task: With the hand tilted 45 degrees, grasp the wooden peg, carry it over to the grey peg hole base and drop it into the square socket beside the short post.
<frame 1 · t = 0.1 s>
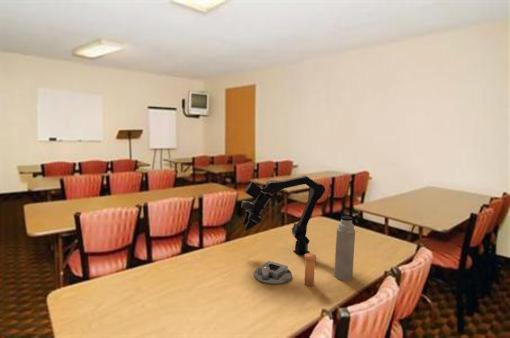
hand: (244, 227, 167), 15 cm above the table, tool tilted 35°, fingers open, 9 cm apart
thermos bottle: (343, 276, 146), on the table
wooden peg: (309, 284, 139), on the table
grey peg hole base: (272, 275, 146), on the table
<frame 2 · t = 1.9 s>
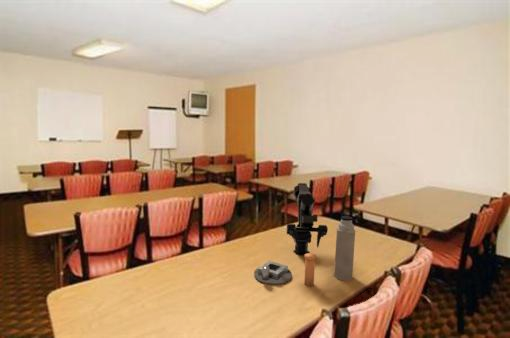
hand: (307, 246, 145), 13 cm above the table, tool tilted 45°, fingers open, 9 cm apart
nothing on the table moved.
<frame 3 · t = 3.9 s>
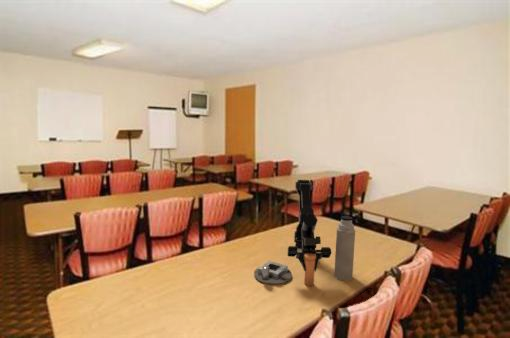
hand: (310, 271, 136), 7 cm above the table, tool tilted 45°, fingers closed on wooden peg, 4 cm apart
wooden peg: (309, 284, 139), on the table, touching gripper
everything else where it was.
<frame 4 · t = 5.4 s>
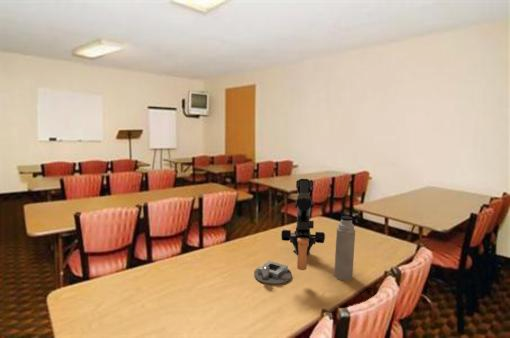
hand: (302, 254, 136), 13 cm above the table, tool tilted 45°, fingers closed on wooden peg, 4 cm apart
wooden peg: (301, 268, 139), point 7 cm above the table, touching gripper
everything else where it was.
when the fingers open (9 cm above the table, at t = 7.2 s): wooden peg drops 2 cm, resting on grey peg hole base.
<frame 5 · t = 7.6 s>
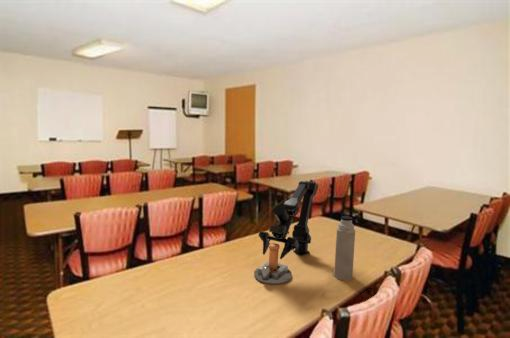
hand: (271, 256, 144), 10 cm above the table, tool tilted 45°, fingers open, 8 cm apart
wooden peg: (272, 272, 146), point 1 cm above the table, touching grey peg hole base
everything else where it was.
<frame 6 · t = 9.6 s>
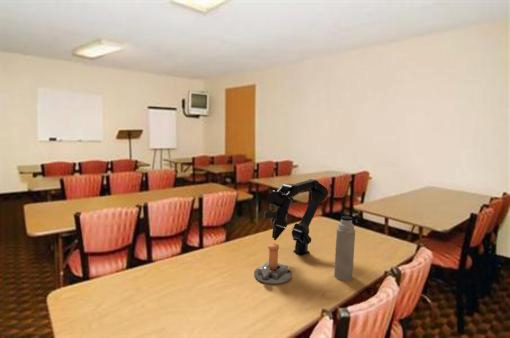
hand: (273, 238, 158), 12 cm above the table, tool tilted 20°, fingers open, 9 cm apart
nothing on the table moved.
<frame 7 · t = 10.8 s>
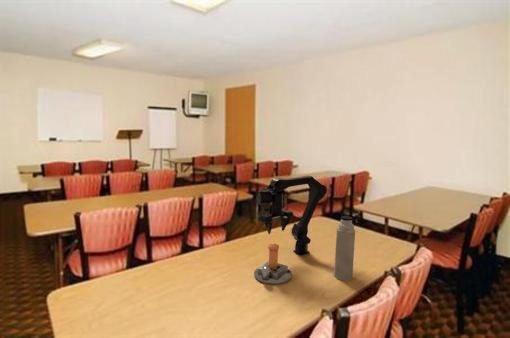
hand: (276, 232, 166), 13 cm above the table, tool pointing down, fingers open, 9 cm apart
nothing on the table moved.
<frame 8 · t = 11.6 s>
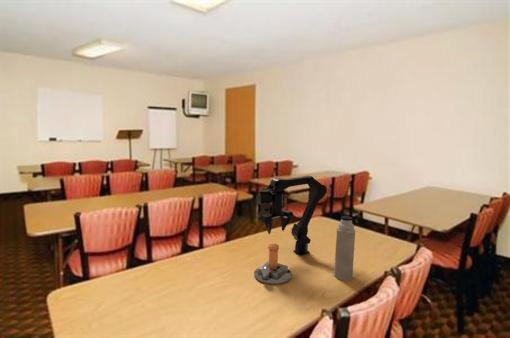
hand: (276, 232, 166), 13 cm above the table, tool pointing down, fingers open, 9 cm apart
nothing on the table moved.
at the end: wooden peg 0.0 cm off-centre on the grey peg hole base, point 1.2 cm above the grey peg hole base's base; wooden peg tilted 0°; the gripper is holding nothing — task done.
